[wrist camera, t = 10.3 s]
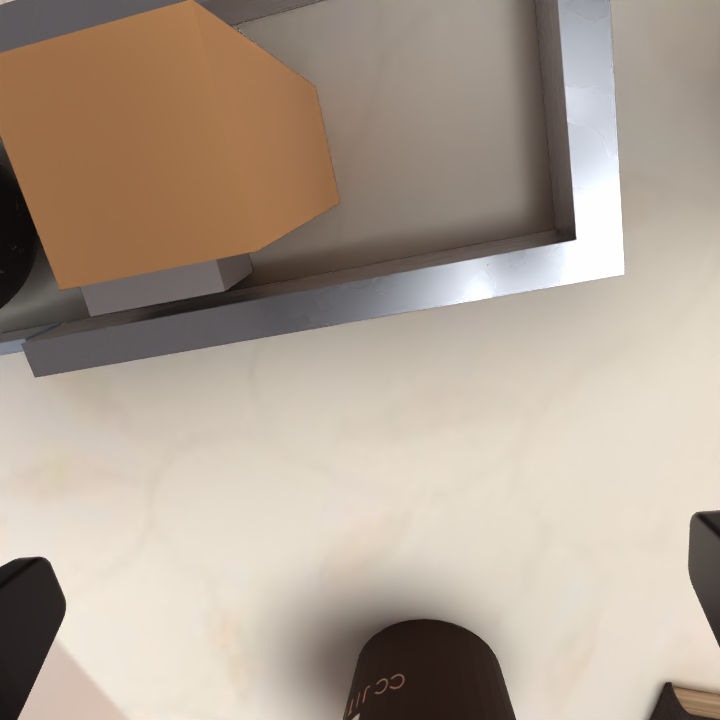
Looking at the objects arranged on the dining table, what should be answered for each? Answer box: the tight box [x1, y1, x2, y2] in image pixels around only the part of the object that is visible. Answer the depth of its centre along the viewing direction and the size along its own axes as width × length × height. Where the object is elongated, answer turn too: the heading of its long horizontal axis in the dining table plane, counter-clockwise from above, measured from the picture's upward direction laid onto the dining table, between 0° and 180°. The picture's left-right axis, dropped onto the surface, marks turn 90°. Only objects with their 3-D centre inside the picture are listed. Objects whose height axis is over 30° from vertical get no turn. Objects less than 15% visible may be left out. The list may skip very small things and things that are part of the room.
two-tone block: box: [0, 0, 340, 317], centre depth 13 cm, size 8×7×10 cm
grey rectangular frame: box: [0, 0, 625, 377], centre depth 17 cm, size 19×10×2 cm, turn 102°
